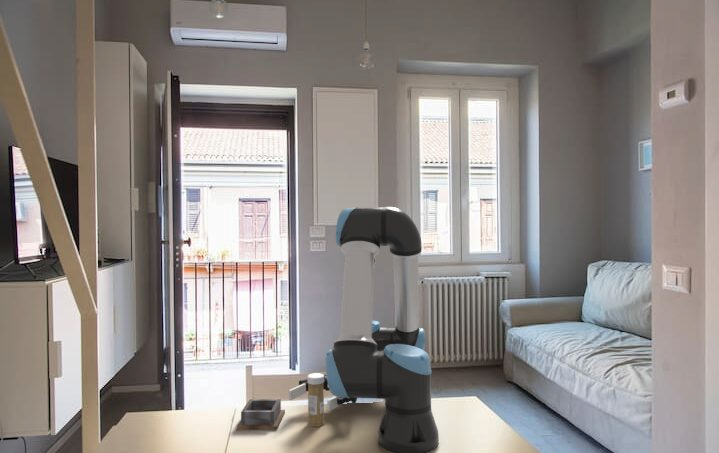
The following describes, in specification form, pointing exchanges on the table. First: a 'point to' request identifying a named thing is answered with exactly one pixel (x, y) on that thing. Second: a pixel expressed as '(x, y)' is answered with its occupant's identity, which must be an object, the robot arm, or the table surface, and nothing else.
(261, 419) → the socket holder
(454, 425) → the table surface
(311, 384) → the sprinkles bottle
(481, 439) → the table surface
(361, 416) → the table surface
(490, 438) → the table surface
